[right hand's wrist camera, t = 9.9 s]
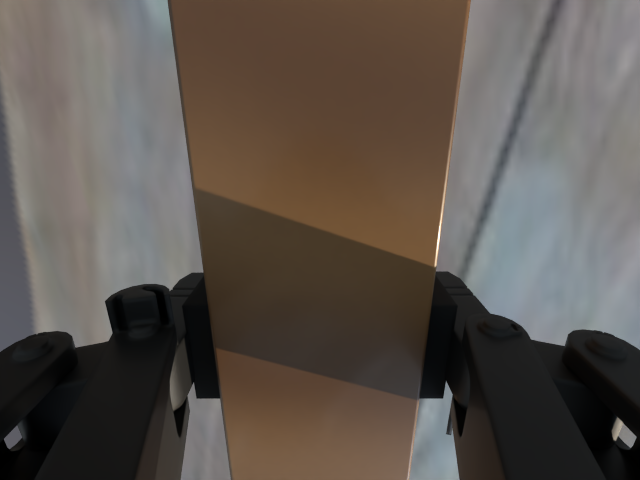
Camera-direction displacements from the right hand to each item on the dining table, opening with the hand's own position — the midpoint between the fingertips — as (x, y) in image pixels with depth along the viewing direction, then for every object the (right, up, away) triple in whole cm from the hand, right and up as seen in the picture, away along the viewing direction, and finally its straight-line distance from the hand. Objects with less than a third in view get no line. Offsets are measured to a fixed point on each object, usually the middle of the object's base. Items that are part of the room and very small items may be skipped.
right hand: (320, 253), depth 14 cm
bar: (0, +25, -9) cm, 26 cm away
